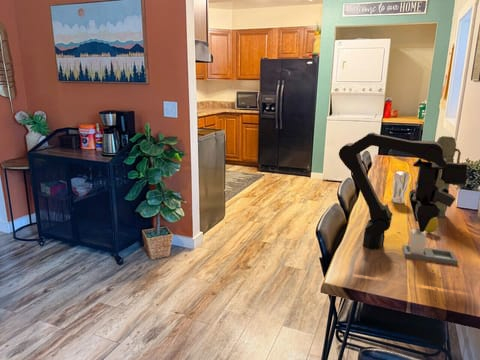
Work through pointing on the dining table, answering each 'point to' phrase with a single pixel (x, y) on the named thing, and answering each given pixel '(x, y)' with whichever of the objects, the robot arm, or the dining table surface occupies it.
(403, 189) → the grey marbled block
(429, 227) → the lemon
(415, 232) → the plug
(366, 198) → the robot arm
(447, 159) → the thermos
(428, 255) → the socket panel
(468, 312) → the dining table surface
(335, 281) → the dining table surface
